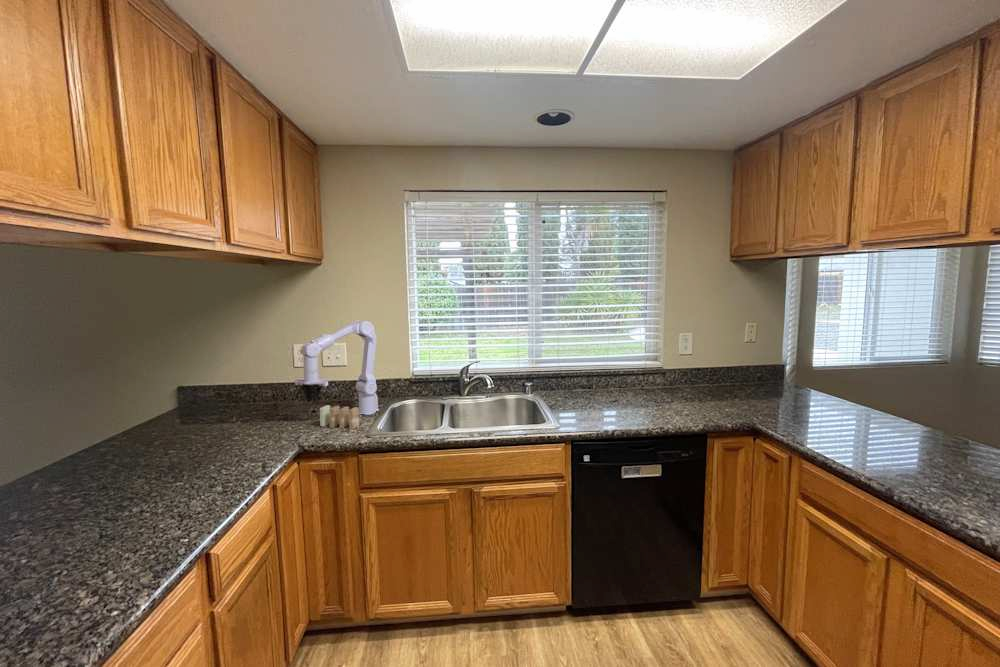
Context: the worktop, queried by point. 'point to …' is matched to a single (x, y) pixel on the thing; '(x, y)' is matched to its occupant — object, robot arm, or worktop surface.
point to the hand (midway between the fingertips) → (312, 401)
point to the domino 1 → (324, 415)
